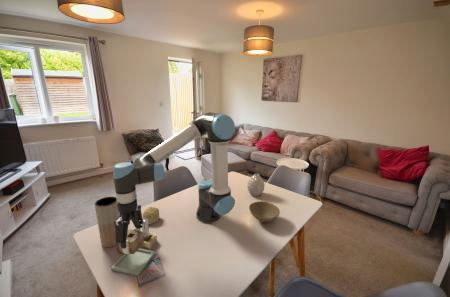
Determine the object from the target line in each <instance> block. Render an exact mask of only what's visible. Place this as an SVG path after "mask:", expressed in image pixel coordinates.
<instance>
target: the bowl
mask: <svg viewBox="0 0 450 297" xmlns="http://www.w3.org/2000/svg"><path fill="white" fill-rule="evenodd" d="M248 209H249V212H250V214H251V215H252V216H253V217H254V218H255V219H256V220H258V221H259V222H262V223H269V222H271V221H273V220H276V219H277V218H278V217H279V216H280V214H281V210H280V208H279V207H278V206H277V205H275V204H273V203H271V202H267V201H260V200H259V201H254V202H252V203H250V205H249V207H248Z"/></svg>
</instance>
